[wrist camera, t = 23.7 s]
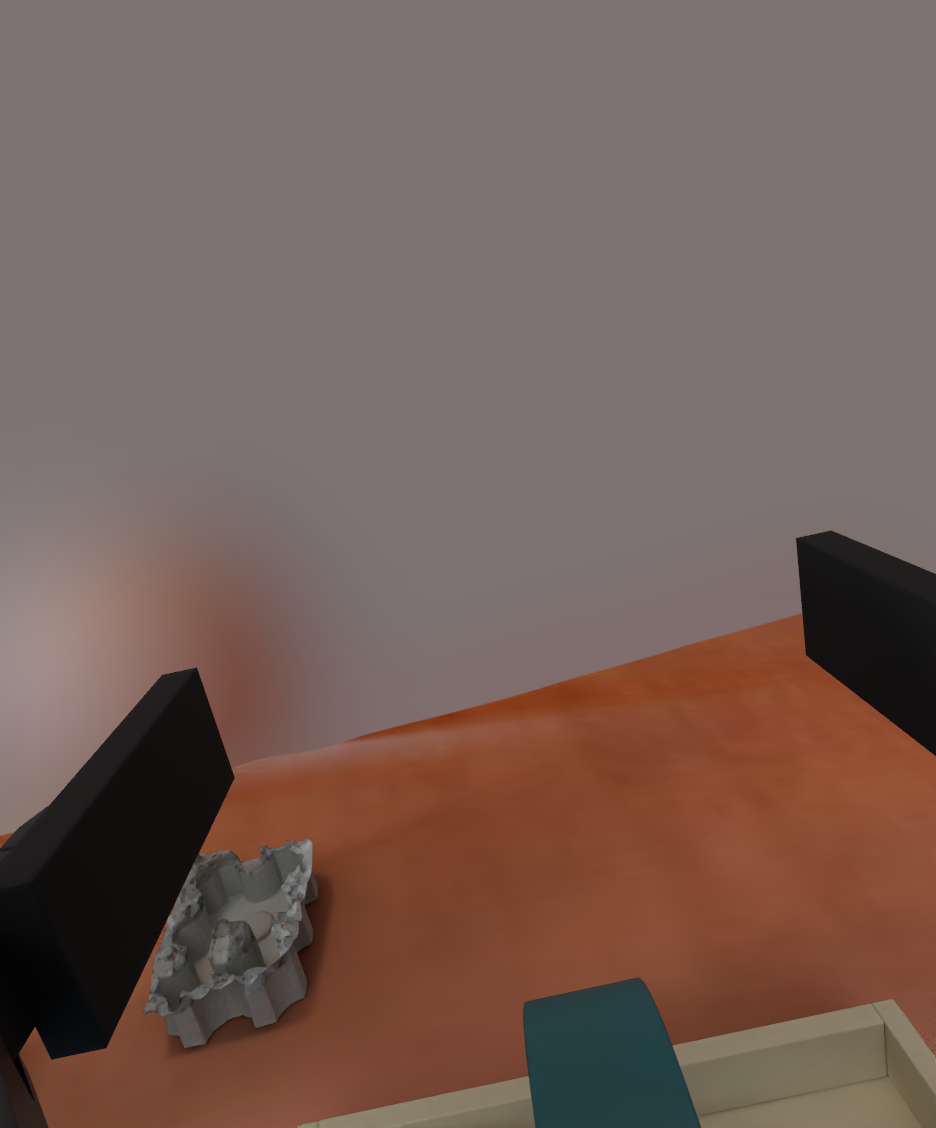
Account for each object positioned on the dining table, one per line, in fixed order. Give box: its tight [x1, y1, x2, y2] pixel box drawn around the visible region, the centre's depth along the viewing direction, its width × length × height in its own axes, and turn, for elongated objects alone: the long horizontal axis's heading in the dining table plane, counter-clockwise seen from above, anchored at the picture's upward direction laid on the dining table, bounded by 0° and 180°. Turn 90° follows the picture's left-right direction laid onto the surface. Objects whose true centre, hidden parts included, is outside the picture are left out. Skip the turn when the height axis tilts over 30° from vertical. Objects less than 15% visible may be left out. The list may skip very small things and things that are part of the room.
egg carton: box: [144, 839, 318, 1048], centre depth 37 cm, size 11×8×4 cm
